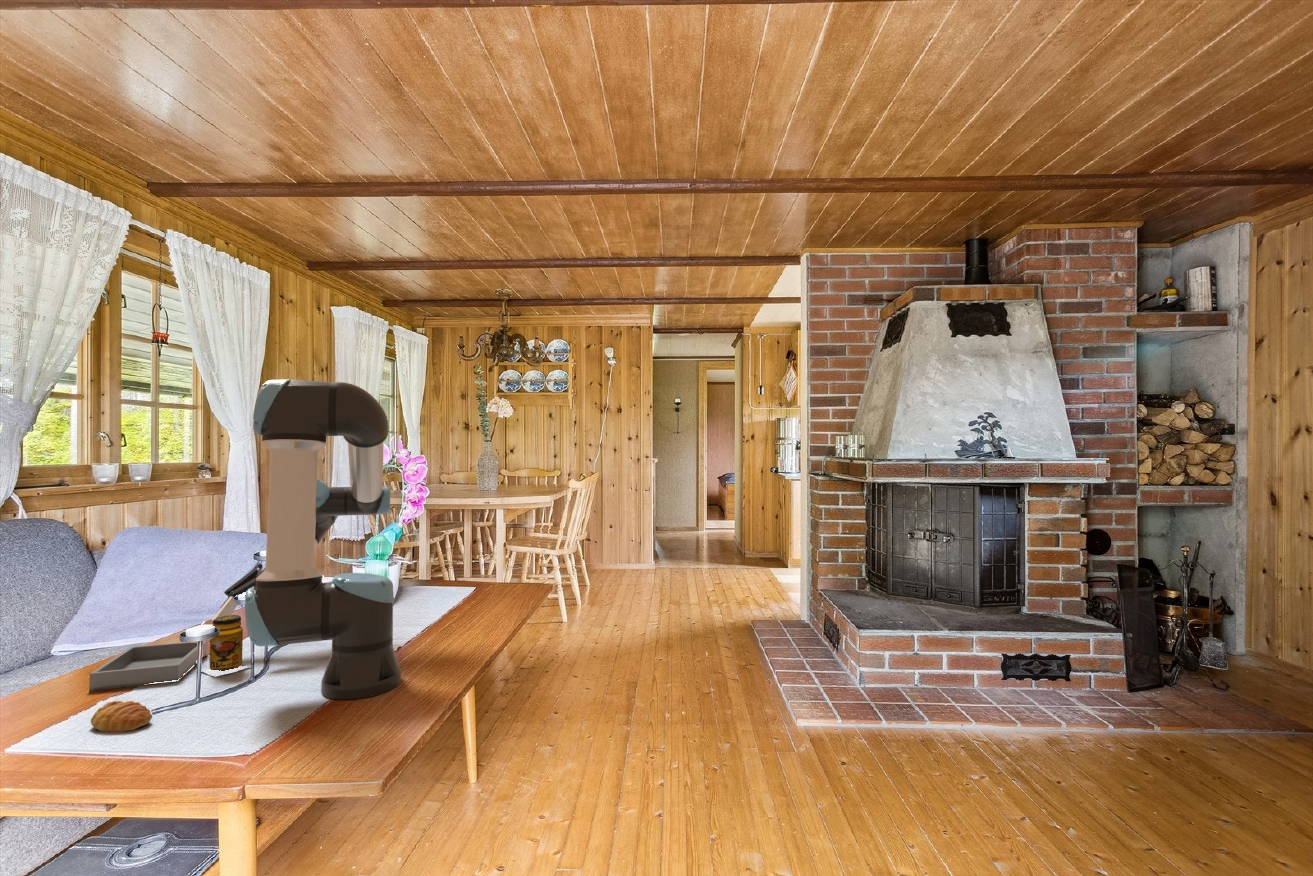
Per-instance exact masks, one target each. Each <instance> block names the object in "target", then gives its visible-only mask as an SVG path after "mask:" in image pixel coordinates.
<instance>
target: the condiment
mask: <svg viewBox="0 0 1313 876" xmlns="http://www.w3.org/2000/svg"><path fill="white" fill-rule="evenodd" d="M213 626H215V627H218V628H219V629H220V634H219V635H218V636H216V637H214V638H212V639H209V653H208V655H209V668H210V669H211V670H219V671H220V670H221V671H225V670H229V669H234V668H238V667H239V666H241V665H243V642H244V635H243V634H244V633H243V631H244V629H243V627H242V617H241V616H240V615H239V614H238V615H237V614H231V615H228V616H222V617H218V618H215V619H214V620H213V621H212V627H213Z"/></svg>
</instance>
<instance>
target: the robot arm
mask: <svg viewBox="0 0 1313 876" xmlns="http://www.w3.org/2000/svg"><path fill="white" fill-rule="evenodd" d="M252 419H253V422H252V430H253V433H254V434H255V435H257V436H259V437H260V436H261V444H262V445H263V446H264V447H266V449H267V450H269V474H268V475H269V476H268V501H267V520H266V521H267V525H266V543H265V544H266V547H265V565H263V564H262V563H261V562H259V563H257V564H256V565H255V566H254V567H253V569H251V570H250V571H248V572H247V573H246V574H245V575H244V576H242V577H241V578H240V579H239V580H237V581H236V582H234V584H232V585H231V586H230V587H228V588H227V589H225V590H224V595H226V596H227V598H226V600H225V601H224V602H223V604H222V605H220V608H219V610H218V611H217V613H216V614H215V615H214V617H213V618H212V619H211V621H212V622H213V620H214V619H215V618H218V617H222V616H228V615H232V614H233V613H234V611H235V609H236V608H237V607H238V606H239V604H237V603H236V602H235V601H234V597H235V596H236V595H237V596H238V595H239V594H242V593H243V592H246V591H247V592H246V595H245V597H244V600H245V601H244V619H245V626H246V632H247V634H248V637H249V640H250V641H251V643H252V644H254V645H255V646H258V647H269V646H270V647H272V646H273V647H274V646H276V647H281V646H283V645H293V644H294V645H295V644H302V643H303V644H304V643H313V642H322V641H331V654H330V656H329V660H328V663H327V665H326V668H325V670H324V674H323V676H322V679H321V683H320V684H321V689H320V691H321V692H320V693H321V694H322V695H323V696H324V697H326V698H328V699H334V700H354V699H355V700H356V699H364V698H365V699H366V698H369V697H373V696H378V695H381V694H384V693H386V692H389V691H391V690H393V689H395V688H396V687H397V686H399V685H400V683H401V681H402V670H401V666H400V664H399V661H398V657H397V655H396V651H395V649H394V645H393V643H394V642H393V641H394V638H393V637H394V602H395V597H394V583H393V581H392V580H391V579H390V578H388V577H386V576H384V575H380V574H374V573H366V572H365V573H364V572H348V573H339V574H335V575H334V577H333V579H332V581H331V582H329V581H328V582H323V573H322V572H321V571H320V570H319V569H317V568H316V566H315V553H316V551H315V550H316V548H317V546H318V545H319V544H320V542H321V541H322V540H323V538H324V537H325V535H326V534H327V533H328V531H329V530H330V529H331V527H333V525H334V524H335V523H336V520H337V519H338V518H339V517H340V516H376V515H386V514H389V512H390V510H391V488H390V487H388V486H384V442H385V441H386V440H387V438H388V436H389V431H390V430H389V429H390V428H389V426H390V425H389V420H388V417H387V414H386V412H385V409H384V408H383V406H382V405H381V403H380V402H379V401H378V400H377V399H376V398H375V397H374V396H373V395H372V394H370V393H369V392H368V391H367V390H365V389H363V388H362V387H359V386H357V385H355V384H353V383H349V382H348V383H347V382H344V381H343V382H342V381H341V382H340V381H337V382H335V381H334V382H332V381H324V380H323V381H322V380H319V381H318V380H308V379H307V380H304V379H291V378H288V379H269V380H266V381H265V382H264V383H263V384H262V385H261V386H260V388H259V390H258V393H257V396H256V400H255V404H254V409H253V415H252ZM338 436H339V437H343V439H344V440H345V441H346V442H347V447H348V449H347V450H348V453H347V454H348V466H349V467H348V468H349V484H350V485H349V486H328V484H327V483H326V482H325V481H322V480H320V479H318V460H319V459H318V458H319V452H320V451H321V450H322V449H323V448H324V447H325V446H326V445H327V437H338ZM338 516H339V517H338Z"/></svg>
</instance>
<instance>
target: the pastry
mask: <svg viewBox="0 0 1313 876" xmlns="http://www.w3.org/2000/svg"><path fill="white" fill-rule="evenodd" d="M152 718H153V715H152V714H151V710H150V709H149V708H147V706H146V705H143V704H141V703H140V702H138V701H137V702H135V701H133V700H128V701H127V700H126V701H123V700H114V701H109V702H106V703H105V704H104V705H102V707H99V708H98V709H97V710H96V711H95V712H94V714H93V715H92V716H91V718H90V724H91V726H92V727H93V729H94V730H98V731H100V732H105V731H106V732H109V731H110V733H114V732H115V733H123V732H124V733H125V732H127V731H135V730H136V729H138V728H140V727H142V726H145V725H148V724H149V723H150V722H151V720H152Z"/></svg>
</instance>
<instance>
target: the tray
mask: <svg viewBox="0 0 1313 876" xmlns="http://www.w3.org/2000/svg"><path fill="white" fill-rule="evenodd" d="M203 641H204V642H203V654H204V657H205V656H206V654H207V655H208V640H207V641H205V640H203ZM190 642H191V641H184V642H172V643H160V644H150V645H149V644H148V645H147V644H146V645H139V646H138V645H137V646H129V648H127V649H126V650H124V651H122V652H121V653H120V654H118V655H116V656H114V657H113V658H112V659H110V660H109V661H107V662H104V664H102V665H101V666H99V667H97V669H95V670H92V671H91V672H90V673H89V681H88V682H89V688H88V691H89V692H95V691H96V692H97V691H104V690H115V689H123V688H122V687H126V688H131V687H132V688H133V686H135V687H139V686H138V685H144V684H149V683H154V682H164V681H172V680H178V679H179V678H181V677H182V676H183V674H184V673H186V672H187V671H188V670H189V669H190V668H191V667H192V666H193V665H195V667H196V666H197V665H196V660H197V643H190ZM206 657H207V656H206ZM206 657H205V658H206ZM144 686H145V685H144Z"/></svg>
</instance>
